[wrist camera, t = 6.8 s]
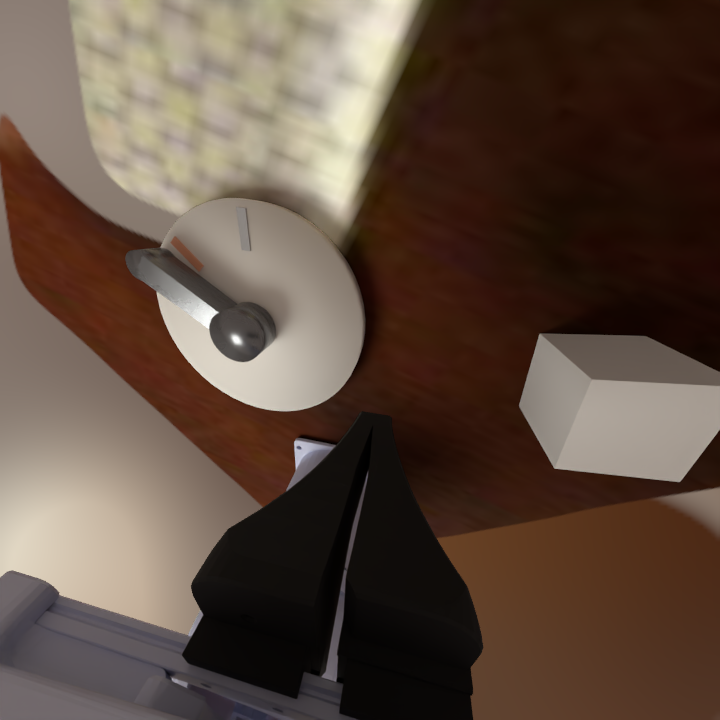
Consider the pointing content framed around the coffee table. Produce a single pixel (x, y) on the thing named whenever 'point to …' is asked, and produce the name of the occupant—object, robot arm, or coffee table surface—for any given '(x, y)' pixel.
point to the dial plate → (270, 301)
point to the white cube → (620, 405)
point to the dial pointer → (206, 304)
